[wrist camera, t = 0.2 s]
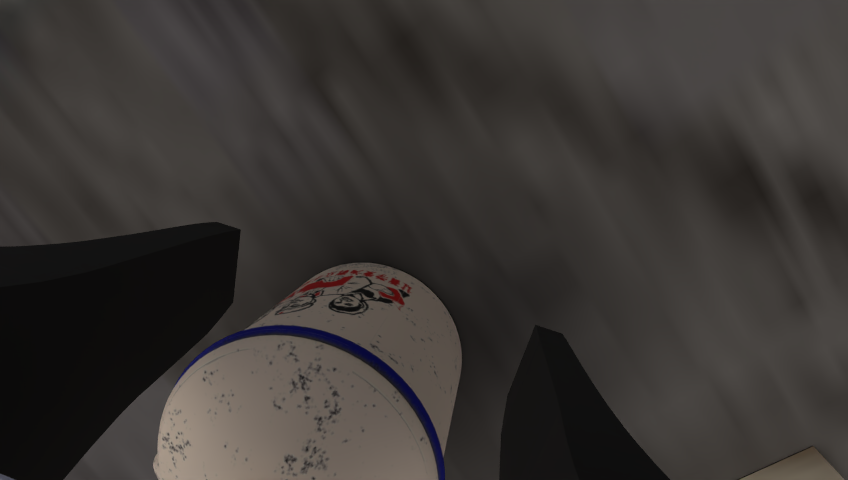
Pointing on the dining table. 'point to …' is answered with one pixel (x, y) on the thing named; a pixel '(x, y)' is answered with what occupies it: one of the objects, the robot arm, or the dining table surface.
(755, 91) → the dining table surface
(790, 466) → the notched board
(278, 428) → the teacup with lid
